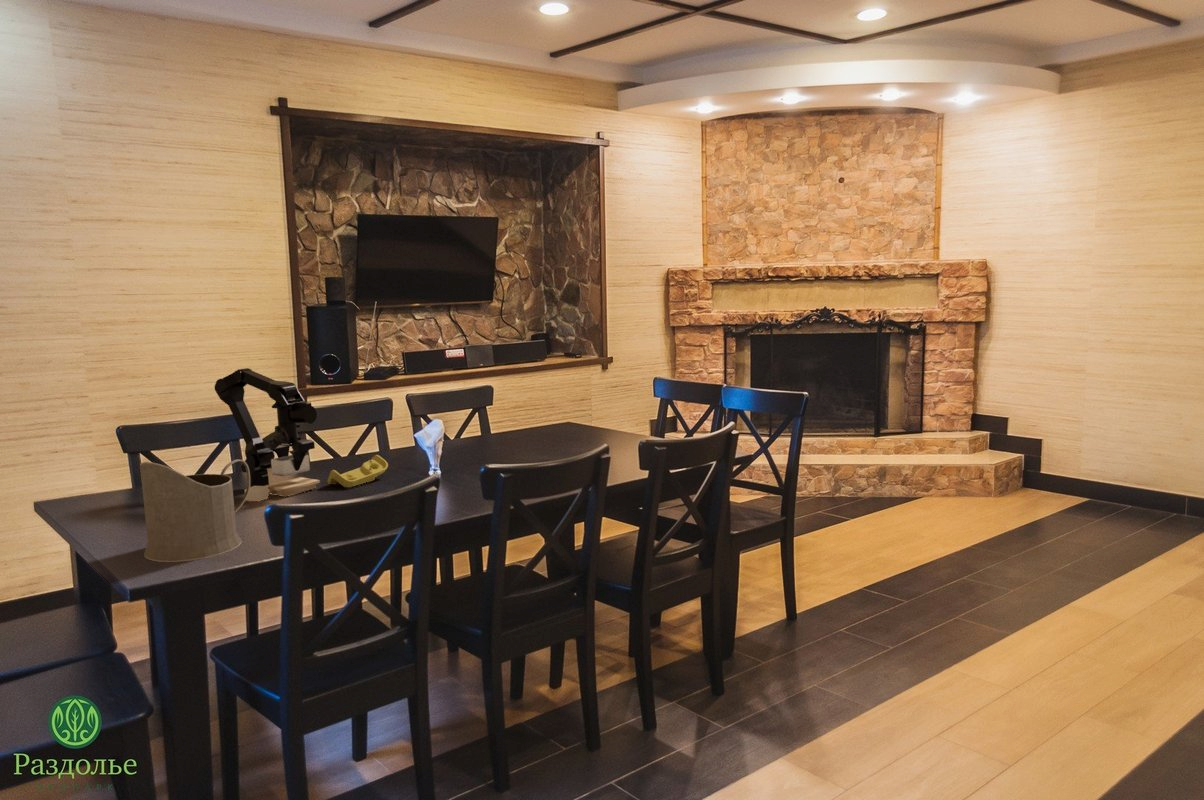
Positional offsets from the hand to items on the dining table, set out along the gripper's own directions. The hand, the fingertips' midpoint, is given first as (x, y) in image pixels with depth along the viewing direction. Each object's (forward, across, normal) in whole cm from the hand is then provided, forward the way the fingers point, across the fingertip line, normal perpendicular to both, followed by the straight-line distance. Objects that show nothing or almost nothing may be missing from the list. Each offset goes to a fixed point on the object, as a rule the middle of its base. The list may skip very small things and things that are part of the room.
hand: (290, 469), depth 293 cm
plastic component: (+8, +9, +21) cm, 24 cm away
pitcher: (+8, +27, -48) cm, 56 cm away
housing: (+1, 0, 0) cm, 1 cm away
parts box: (+8, -2, -12) cm, 14 cm away
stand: (+8, 0, 0) cm, 8 cm away
